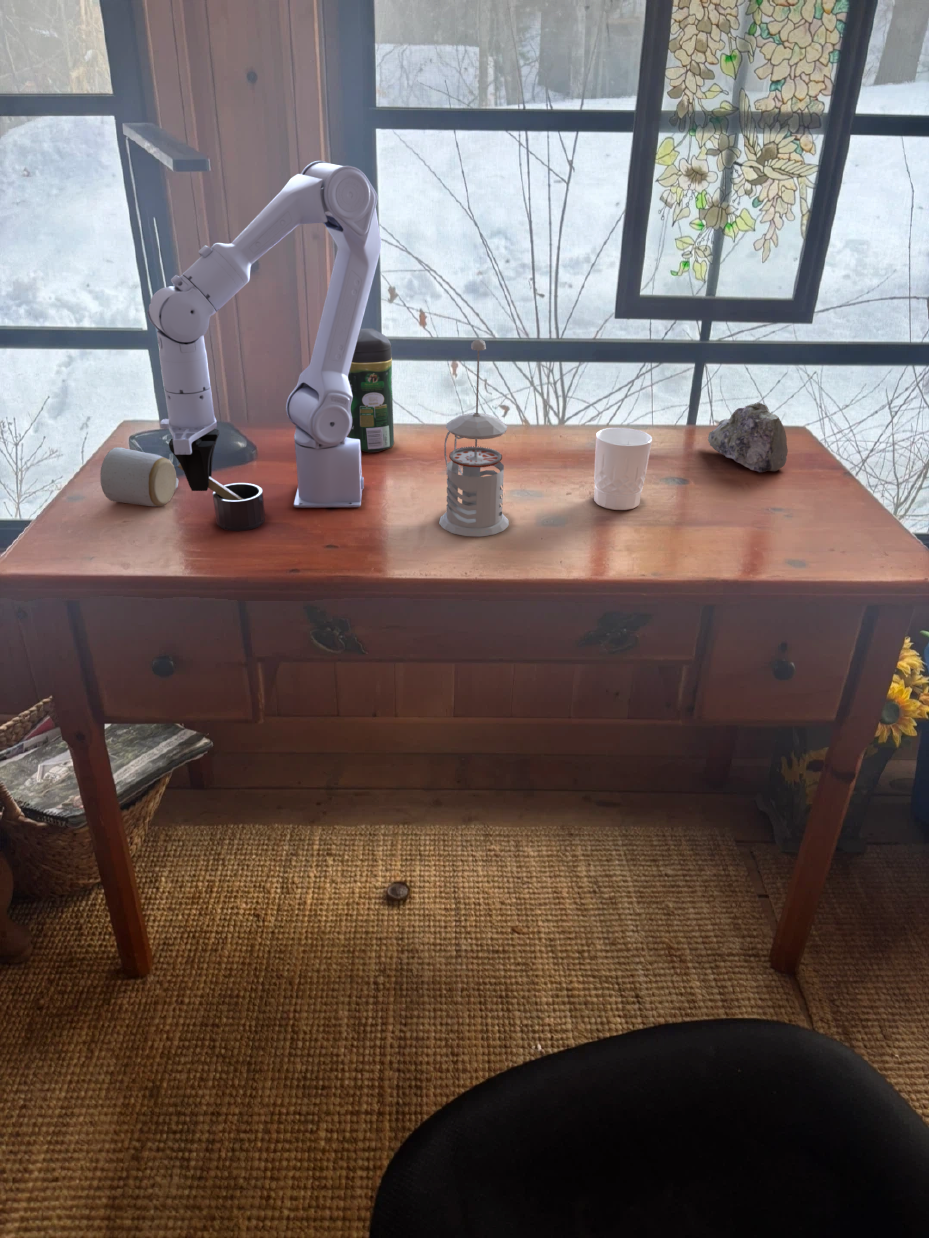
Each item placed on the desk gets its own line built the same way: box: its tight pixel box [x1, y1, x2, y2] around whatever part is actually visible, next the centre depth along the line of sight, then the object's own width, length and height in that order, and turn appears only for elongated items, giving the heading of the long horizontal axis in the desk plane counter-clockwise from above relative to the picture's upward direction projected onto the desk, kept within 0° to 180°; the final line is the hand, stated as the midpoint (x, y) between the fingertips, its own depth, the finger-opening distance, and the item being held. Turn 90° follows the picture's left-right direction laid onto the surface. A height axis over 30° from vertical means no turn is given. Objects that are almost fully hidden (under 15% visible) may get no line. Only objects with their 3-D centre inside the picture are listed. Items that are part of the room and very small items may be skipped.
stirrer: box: [177, 463, 244, 500], centre depth 123 cm, size 10×1×8 cm, turn 93°
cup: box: [212, 482, 266, 532], centre depth 125 cm, size 7×7×4 cm
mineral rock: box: [707, 401, 789, 473], centre depth 148 cm, size 13×11×10 cm
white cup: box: [593, 426, 653, 511], centre depth 132 cm, size 8×8×10 cm
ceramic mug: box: [99, 446, 179, 507], centre depth 130 cm, size 11×8×8 cm
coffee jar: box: [347, 328, 395, 453], centre depth 149 cm, size 10×8×19 cm
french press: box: [438, 338, 510, 538], centre depth 122 cm, size 10×12×25 cm
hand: (201, 487), depth 123 cm, fingers closed
